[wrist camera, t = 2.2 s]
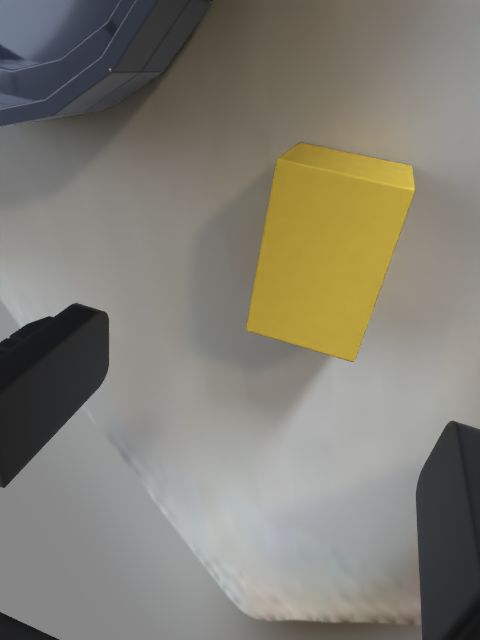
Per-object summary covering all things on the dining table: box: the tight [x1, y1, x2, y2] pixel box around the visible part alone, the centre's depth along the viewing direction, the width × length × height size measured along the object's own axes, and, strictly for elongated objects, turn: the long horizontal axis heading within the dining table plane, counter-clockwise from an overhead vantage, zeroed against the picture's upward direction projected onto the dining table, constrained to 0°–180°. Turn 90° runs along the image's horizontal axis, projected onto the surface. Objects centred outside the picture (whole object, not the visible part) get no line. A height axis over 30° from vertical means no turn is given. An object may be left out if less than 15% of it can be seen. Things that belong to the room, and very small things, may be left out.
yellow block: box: [246, 143, 415, 362], centre depth 18 cm, size 7×5×4 cm, turn 171°
